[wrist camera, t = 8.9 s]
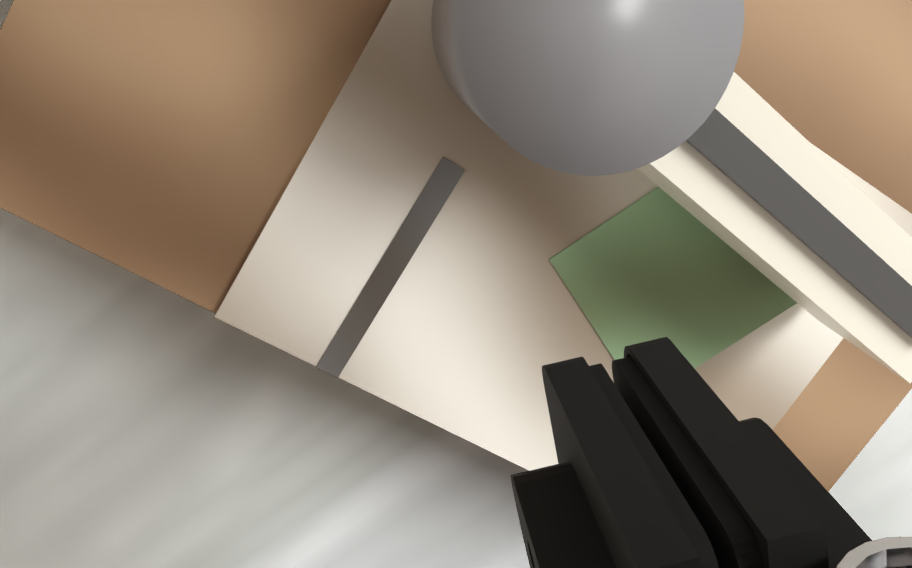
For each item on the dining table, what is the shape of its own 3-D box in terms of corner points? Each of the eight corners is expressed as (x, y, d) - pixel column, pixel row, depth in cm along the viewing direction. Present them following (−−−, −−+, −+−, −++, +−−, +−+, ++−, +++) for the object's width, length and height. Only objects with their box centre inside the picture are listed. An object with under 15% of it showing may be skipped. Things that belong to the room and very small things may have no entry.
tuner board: (371, -630, 15) (378, -829, 11) (1084, -5, 20) (1241, -6, 17) (10, 143, 18) (-72, 178, 15) (700, 497, 24) (762, 585, 20)
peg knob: (387, 42, 15) (399, 58, 11) (527, -150, 14) (592, -204, 10) (773, 352, 18) (886, 446, 14) (905, 208, 17) (1061, 268, 13)
